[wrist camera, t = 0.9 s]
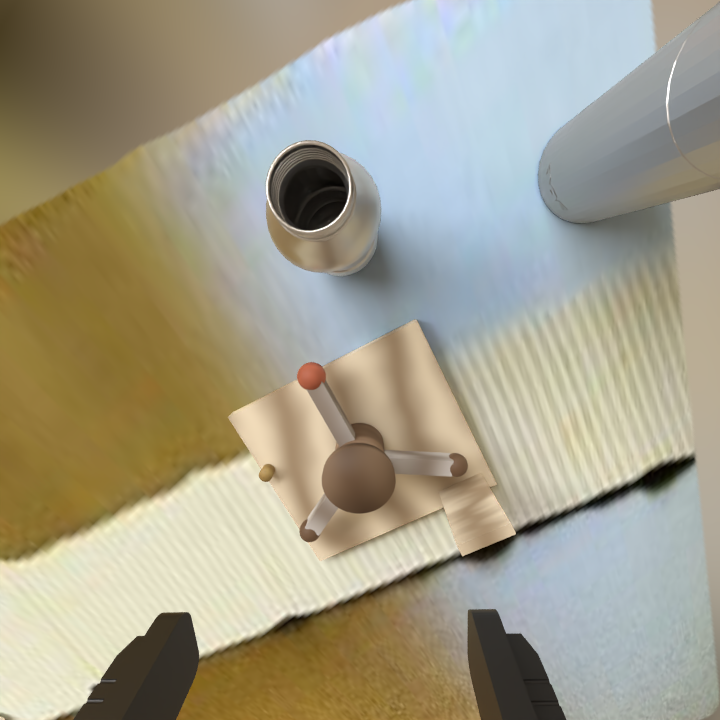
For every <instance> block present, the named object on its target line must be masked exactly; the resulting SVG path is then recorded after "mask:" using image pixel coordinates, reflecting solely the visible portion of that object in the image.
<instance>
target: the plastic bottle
mask: <svg viewBox="0 0 720 720" xmlns="http://www.w3.org/2000/svg"><path fill="white" fill-rule="evenodd" d="M266 195H267V203H266V219H267V225H268V230H269V233H270V235H271V238H272V241H273V242H274V244H275V246H276V247H277V249H278V250H279V252H280V253H281V254H282V255H283V256H284V257H285V258H286V259H287V260H289V261H290V262H291V263H293V264H294V265H296V266H298V267H300V268H302V269H304V270H308V271H312V272H321V273H327V274H329V275H334V276H346V275H351V274H353V273H356V272H358V271H359V270H361V269H362V268H363V267H365V266H366V265H367V264H368V263H369V261H370V260H371V258H372V257H373V255H374V253H375V250H376V247H377V241H378V233H377V232H378V229H379V225H380V221H381V201H380V196H379V193H378V189H377V186H376V184H375V182H374V181H373V179H372V177H371V175H370V174H369V173H368V172H367V170H366V169H365V168H364V167H363V166H362V165H361V164H359V163H358V162H357V161H356V160H354V159H353V158H351V157H348V156H346V155H344V154H342V153H339V152H338V151H336V150H335V149H334V148H333V147H331V146H329V145H327V144H325V143H323V142H319V141H310V140H306V141H301V142H297V143H294V144H292V145H290V146H288V147H287V148H285V149H284V150H282V151H281V153H280V154H279V155H278V156H277V157H276V158H275V160H274V161H273V163H272V164H271V166H270V169H269V171H268V175H267V180H266Z"/></svg>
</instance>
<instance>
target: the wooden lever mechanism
mask: <svg viewBox="0 0 720 720" xmlns="http://www.w3.org/2000/svg"><path fill="white" fill-rule="evenodd" d="M322 367H323V369H324V370H325V373H326V381H327V383H328V385H329V386H330V388H331V390H332V392H333V394H334V395H335V397H336V399H337V401H338V402H339V404H340V406H341V408H342V410H343V411H344V413H345V415H346V417H347V418H348V420H349V422H350V424H354V423H366V424H369V425H371V426H373V427H375V428H376V429H377V430H378V431H379V432H380V434H381V435H382V438H383V442H384V450H399V451H420V452H441V453H450V454H452V453H459V454H461V455H463V456H464V457H465V458H466V460H467V463H468V469H467V471H466V473H465V474H464V475H462V476H460V477H454V476H452V477H450V476H429V475H409V474H395V478H396V484H395V489H394V492H393V494H392V496H391V498H390V499H389V500H388V501H387V503H385V504H384V505H383V506H382V507H380V508H379V509H377V510H375V511H372V512H368V513H362V514H356V513H350V512H346V511H343V510H341V509H339V508H338V509H337V511H336V512H335V514H334V515H333V516H332V518H331V519H330V521H329V522H328V523H327V525H326V526H325V528H324V529H323V530H322V532H321V534H320V536H319V538H318V539H317V540H316V541H314V542H308V543H309V545H310V546H311V548H312V549H313V551H314V553H315V554H316V556H317V557H318V559H319V560H320V561H322V560H324V559H326V558H329V557H331V556H333V555H336V554H338V553H340V552H342V551H345V550H347V549H349V548H352V547H354V546H356V545H359V544H361V543H363V542H366V541H368V540H370V539H372V538H375V537H377V536H379V535H382V534H384V533H386V532H389V531H391V530H393V529H395V528H398V527H400V526H402V525H405V524H407V523H409V522H412V521H414V520H416V519H418V518H421V517H423V516H425V515H428V514H430V513H432V512H435V511H437V510H439V509H441V508H444V509H445V512H446V515H447V518H448V521H449V524H450V527H451V530H452V533H453V536H454V539H455V542H456V545H457V547H458V549H459V551H460V552H461V554H462V556H464V555H466V554H469V553H471V552H474V551H476V550H479V549H481V548H483V547H486V546H488V545H491V544H493V543H496V542H498V541H500V540H503V539H505V538H508V537H510V536H512V535H515V534H516V533H515V531H514V529H513V526H512V524H511V523H510V521H509V519H508V517H507V516H506V514H505V512H504V511H503V509H502V507H501V506H500V504H499V502H498V501H497V499H496V497H495V496H494V494H493V492H492V491H491V489H490V487H492V486H494V485H497V483H496V481H495V479H494V477H493V475H492V473H491V471H490V469H489V467H488V465H487V463H486V461H485V459H484V457H483V455H482V453H481V451H480V449H479V447H478V444H477V442H476V440H475V438H474V436H473V434H472V432H471V430H470V428H469V426H468V424H467V422H466V420H465V418H464V416H463V414H462V412H461V410H460V408H459V405H458V403H457V401H456V399H455V397H454V395H453V393H452V391H451V389H450V387H449V385H448V383H447V381H446V379H445V377H444V375H443V373H442V371H441V369H440V367H439V364H438V362H437V360H436V358H435V356H434V354H433V352H432V350H431V348H430V346H429V344H428V342H427V340H426V338H425V336H424V334H423V332H422V330H421V328H420V325H419V323H418V321H417V320H416V319H414V320H412V321H410V322H409V323H407V324H405V325H403V326H401V327H399V328H397V329H395V330H393V331H391V332H389V333H387V334H385V335H383V336H381V337H379V338H377V339H375V340H373V341H371V342H369V343H367V344H365V345H364V346H362V347H360V348H358V349H356V350H354V351H352V352H350V353H348V354H346V355H344V356H342V357H340V358H338V359H336V360H334V361H332V362H330V363H328V364H326V365H324V366H322ZM228 418H229V420H230V421H231V423H232V424H233V426H234V427H235V429H236V431H237V432H238V434H239V435H240V437H241V438H242V440H243V442H244V443H245V445H246V446H247V448H248V449H249V451H250V452H251V454H252V456H253V457H254V459H255V460H256V462H257V463H258V465H259V467H260V468H261V471H260V473H259V478H260V479H261V480H262V481H264V482H268V481H269V482H270V484H271V485H272V487H273V488H274V490H275V492H276V493H277V495H278V496H279V498H280V499H281V501H282V503H283V504H284V506H285V507H286V509H287V510H288V512H289V513H290V515H291V517H292V518H293V520H294V521H295V523H296V524H297V526H298V528H299V529H300V526H301V524H302V523H303V521H305V520H306V519H307V518H308V516H309V515H310V513H311V512H312V510H313V509H314V507H315V506H316V504H317V503H318V502H319V500H320V499H321V497H322V496H323V494H324V490H323V487H322V473H323V468H324V465H325V462H326V461H327V459H328V457H329V456H330V455H331V454H332V453H333V452H334V451H335V447H336V440H335V438H334V436H333V435H332V433H331V431H330V429H329V428H328V426H327V424H326V423H325V421H324V419H323V417H322V416H321V414H320V412H319V410H318V409H317V407H316V405H315V404H314V402H313V400H312V398H311V397H310V395H309V393H308V391H307V390H305V389H304V388H302V387H301V386H300V384H299V382H298V379H297V380H295V381H293V382H291V383H289V384H287V385H285V386H283V387H281V388H279V389H277V390H275V391H273V392H272V393H270V394H268V395H266V396H264V397H262V398H260V399H258V400H256V401H254V402H252V403H250V404H248V405H246V406H244V407H242V408H240V409H238V410H236V411H234V412H233V413H232V414H231V415H230V416H229V417H228Z"/></svg>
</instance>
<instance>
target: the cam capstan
mask: <svg viewBox="0 0 720 720" xmlns="http://www.w3.org/2000/svg"><path fill="white" fill-rule="evenodd" d="M297 379H298V382H299V384H300V386H301V387H302V388H304V389H305V390H307V391H308V393H309V395H310V397H311V398H312V400H313V402H314V404H315V405H316V407H317V409H318V410H319V412H320V414H321V416H322V417H323V419H324V421H325V423H326V424H327V426H328V428H329V429H330V431H331V433H332V435H333V436H334V438H335V440H336V447H335V451H334V452H333V453H332V454H331V455H330V456H329V457H328V459H327V461H326V462H325V465H324V468H323V473H322V487H323V490H324V494H323V496H322V497H321V499H320V500H319V502H318V503H317V504H316V506H315V507H314V509H313V510H312V512H311V513H310V515H309V516H308V518H307V519H306V520H305V521H303V523H302V524H301V526H300V536H301V538H302V539H303V540H304V541H306V542H314V541H316V540H317V539H318V538H319V536H320V534H321V532H322V530H323V529H324V528H325V526H326V525H327V523H328V522H329V521H330V519H331V518H332V516H333V515H334V514H335V512H336V511H337V509H338V508H339V509H341V510H343V511H346V512H350V513H356V514H362V513H368V512H372V511H375V510H377V509H379V508H380V507H382V506H383V505H384V504H385V503H387V501H388V500H389V499H390V498H391V496H392V494H393V492H394V489H395V484H396V478H395V474H409V475H429V476H450V477H452V476H454V477H460V476H462V475H464V474H465V473H466V471H467V469H468V463H467V460H466V458H465V457H464V456H463V455H461V454H459V453H452V454H450V453H441V452H420V451H399V450H384V442H383V438H382V435H381V434H380V432H379V431H378V430H377V429H376V428H375V427H373V426H371V425H369V424H366V423H354V424H350V422H349V420H348V418H347V417H346V415H345V413H344V411H343V410H342V408H341V406H340V404H339V402H338V401H337V399H336V397H335V395H334V394H333V392H332V390H331V388H330V386H329V385H328V383H327V381H326V373H325V370H324V369H323V367H322V366H321V365H319V364H317V363H313V362H310V363H306V364H304V365H303V366H302V367H301V368H300V369H299V371H298V374H297Z"/></svg>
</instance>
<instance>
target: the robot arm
mask: <svg viewBox="0 0 720 720" xmlns="http://www.w3.org/2000/svg"><path fill="white" fill-rule="evenodd" d="M538 182H539V188H540V192H541V196H542V198H543V200H544V202H545V204H546V205H547V206H548V208H549V209H550V210H551V211H552V212H553V213H554V214H556V215H557V216H558V217H560V218H561V219H564V220H566V221H569V222H573V223H591V222H595V221H599V220H603V219H607V218H610V217H614V216H618V215H622V214H627V213H630V212H634V211H638V210H642V209H645V208H649V207H653V206H657V205H661V204H664V203H668V202H672V201H676V200H679V199H683V198H687V197H691V196H695V195H698V194H702V193H706V192H709V191H714V190H717V189H720V2H718V3H717V4H716V5H715V6H714V7H712V8H711V9H710V10H709V11H707V12H706V13H705V14H704V15H702V16H701V17H700V18H699V19H697V20H696V21H695V22H694V23H692V24H691V25H690V26H689V27H687V28H686V29H685V30H683V31H682V32H681V33H680V34H678V35H677V36H676V37H675V38H674V39H672V40H671V41H670V42H668V43H667V44H666V45H665V46H663V47H662V48H661V49H660V50H658V51H657V52H656V53H655V54H653V55H652V56H651V57H650V58H648V59H647V60H646V61H644V62H643V63H642V64H641V65H639V66H638V67H637V68H636V69H634V70H633V71H632V72H631V73H629V74H628V75H627V76H626V77H624V78H623V79H622V80H621V81H619V82H618V83H617V84H616V85H614V86H613V87H612V88H611V89H609V90H608V91H607V92H605V93H604V94H603V95H602V96H600V97H599V98H598V99H597V100H595V101H594V102H593V103H591V104H590V105H589V106H588V107H586V108H585V109H584V110H583V111H581V112H580V113H579V114H578V115H576V116H575V117H574V118H573V119H571V120H570V121H569V122H568V123H566V124H565V125H564V126H563V127H562V128H560V129H559V130H558V131H557V132H556V133H555V135H554V136H553V137H552V138H551V139H550V141H549V142H548V144H547V146H546V148H545V149H544V151H543V154H542V157H541V160H540V164H539V171H538ZM198 661H199V650H198V646H197V641H196V637H195V632H194V628H193V623H192V618H191V615H190V614H189V613H188V612H178V613H161V614H160V615H158V617H157V618H156V619H155V620H154V622H153V623H152V625H151V627H150V628H149V630H148V631H147V633H146V634H145V636H137V637H136V638H135V639H134V640H133V641H132V642H131V643H130V644H129V645H128V646H127V647H126V648H124V649H123V650H122V651H121V652H120V653H119V654H118V655H117V656H116V658H115V659H114V661H113V662H112V664H111V665H110V667H109V668H108V670H107V671H106V673H105V674H104V675H103V677H102V678H101V682H100V684H97V686H96V687H95V689H94V690H93V692H92V693H91V695H90V696H89V697H88V701H87V703H86V704H84V705H83V706H82V708H81V709H80V711H79V712H78V714H77V715H76V717H75V718H74V720H176V718H177V716H178V714H179V712H180V709H181V707H182V705H183V703H184V700H185V698H186V696H187V694H188V692H189V689H190V687H191V685H192V683H193V680H194V678H195V675H196V671H197V667H198ZM468 661H469V668H470V674H471V679H472V684H473V688H474V692H475V696H476V700H477V704H478V708H479V713H480V717H481V720H566V718H565V715H564V713H563V711H562V709H561V706H559V703H558V699H557V697H556V695H555V692H554V690H553V688H552V685H551V684H550V683H549V679H548V676H547V674H546V672H545V669H544V667H543V665H542V662H541V660H540V658H539V656H538V654H537V653H536V651H535V650H534V649H533V648H532V646H531V645H530V644H529V643H528V642H527V640H526V639H525V638H524V637H523V636H522V634H506V632H505V630H504V627H503V624H502V622H501V619H500V616H499V614H498V612H497V610H495V609H478V610H468Z"/></svg>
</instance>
